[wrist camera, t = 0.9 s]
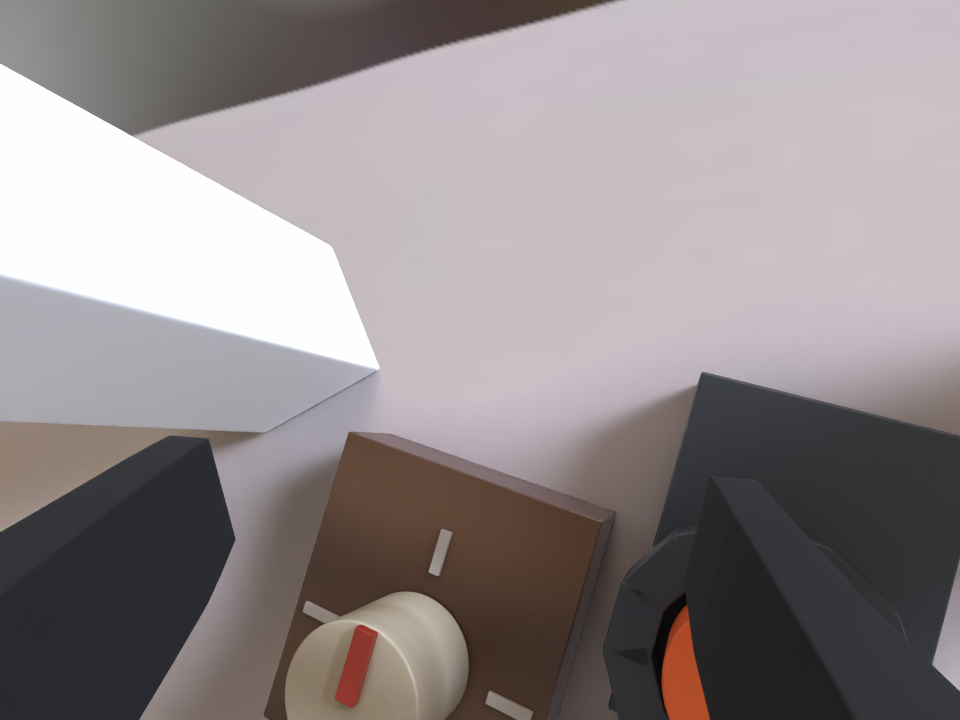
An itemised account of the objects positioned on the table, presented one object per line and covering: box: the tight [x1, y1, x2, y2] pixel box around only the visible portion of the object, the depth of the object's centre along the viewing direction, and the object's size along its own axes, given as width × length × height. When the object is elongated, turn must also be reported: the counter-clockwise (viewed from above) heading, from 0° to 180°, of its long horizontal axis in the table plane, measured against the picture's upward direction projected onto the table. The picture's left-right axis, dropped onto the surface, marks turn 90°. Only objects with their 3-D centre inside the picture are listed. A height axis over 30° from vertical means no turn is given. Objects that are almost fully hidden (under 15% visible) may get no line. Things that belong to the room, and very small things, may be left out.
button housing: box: [603, 372, 960, 720], centre depth 17 cm, size 10×7×4 cm
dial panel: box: [264, 432, 615, 720], centre depth 21 cm, size 10×9×3 cm
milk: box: [0, 64, 379, 432], centre depth 16 cm, size 6×6×22 cm
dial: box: [285, 591, 469, 720], centre depth 17 cm, size 4×4×4 cm
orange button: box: [661, 605, 710, 720], centre depth 14 cm, size 4×4×2 cm
